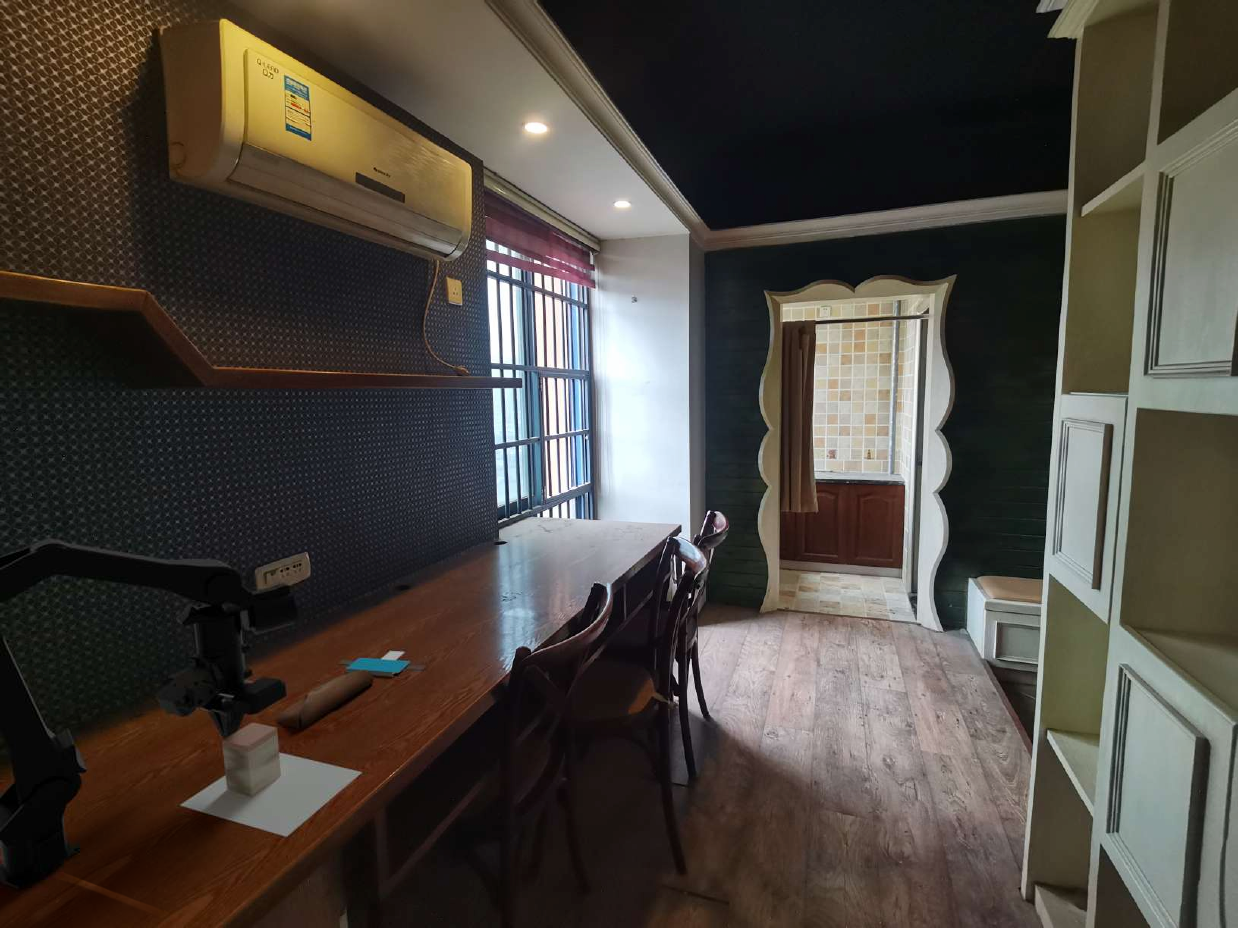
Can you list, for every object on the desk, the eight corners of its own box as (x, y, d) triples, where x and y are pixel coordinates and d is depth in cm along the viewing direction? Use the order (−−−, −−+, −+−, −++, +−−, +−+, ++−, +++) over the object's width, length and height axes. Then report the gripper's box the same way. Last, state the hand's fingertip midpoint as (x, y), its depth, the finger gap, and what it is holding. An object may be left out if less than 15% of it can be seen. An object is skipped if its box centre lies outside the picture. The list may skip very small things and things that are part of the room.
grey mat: (180, 807, 85) (179, 805, 85) (265, 751, 98) (265, 748, 98) (286, 839, 79) (286, 836, 79) (362, 774, 92) (362, 772, 92)
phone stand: (438, 657, 134) (437, 650, 133) (411, 682, 122) (411, 675, 122) (358, 651, 137) (357, 644, 137) (325, 676, 125) (324, 668, 125)
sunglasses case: (341, 678, 123) (352, 654, 121) (365, 698, 121) (377, 674, 120) (266, 724, 106) (278, 697, 104) (294, 749, 104) (306, 722, 103)
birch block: (227, 789, 88) (222, 740, 87) (256, 769, 93) (252, 722, 92) (252, 796, 86) (247, 746, 85) (281, 775, 91) (276, 727, 90)
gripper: (117, 658, 83) (130, 760, 85) (214, 677, 78) (225, 785, 80) (194, 628, 94) (204, 719, 96) (285, 642, 88) (293, 738, 90)
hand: (229, 739), depth 90 cm, fingers closed
